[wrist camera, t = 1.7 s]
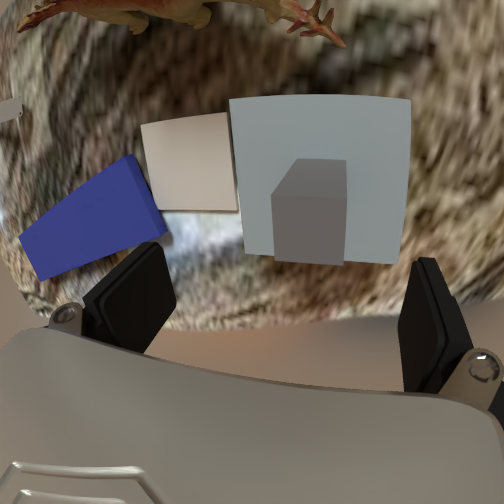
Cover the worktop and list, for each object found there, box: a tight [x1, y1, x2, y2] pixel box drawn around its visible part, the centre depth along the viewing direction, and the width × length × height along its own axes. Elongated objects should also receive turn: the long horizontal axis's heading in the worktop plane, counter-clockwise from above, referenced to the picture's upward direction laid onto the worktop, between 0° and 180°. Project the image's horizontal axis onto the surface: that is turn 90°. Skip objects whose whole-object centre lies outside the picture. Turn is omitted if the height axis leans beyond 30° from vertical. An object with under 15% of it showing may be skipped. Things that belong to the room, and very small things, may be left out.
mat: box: [141, 112, 239, 210], centre depth 30 cm, size 10×10×1 cm
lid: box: [229, 94, 411, 266], centre depth 17 cm, size 12×12×9 cm
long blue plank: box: [18, 154, 168, 281], centre depth 39 cm, size 34×3×10 cm
